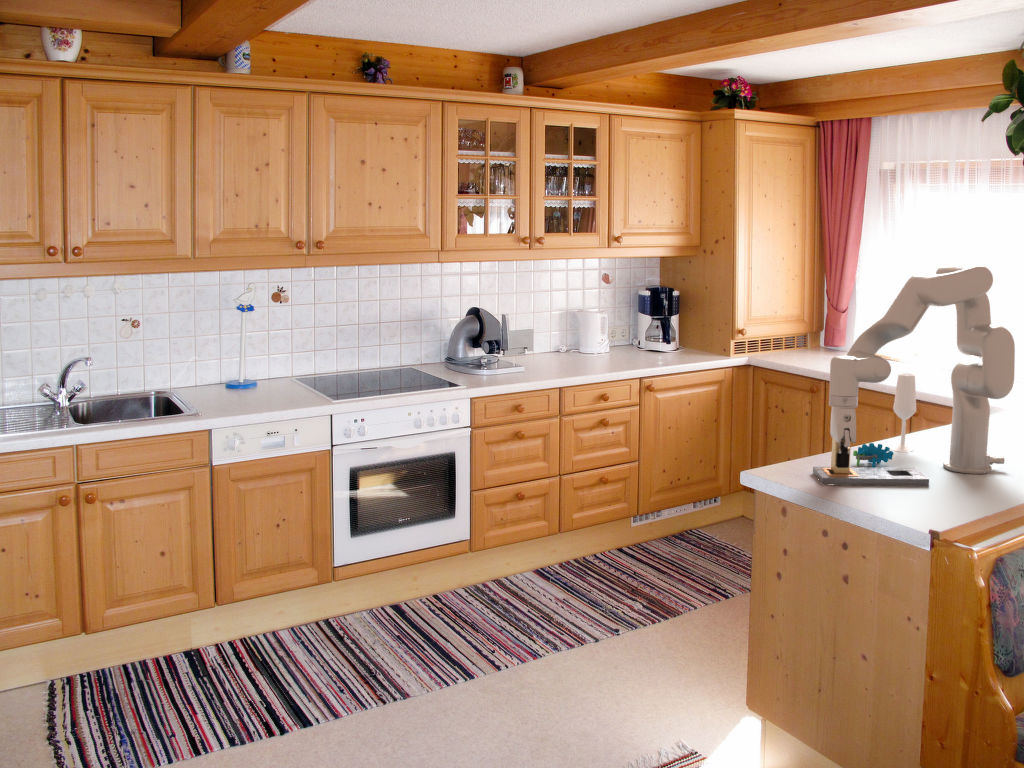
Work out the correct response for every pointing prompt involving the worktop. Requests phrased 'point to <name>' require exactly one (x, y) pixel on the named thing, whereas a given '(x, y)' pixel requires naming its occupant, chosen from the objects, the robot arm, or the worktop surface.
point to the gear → (873, 454)
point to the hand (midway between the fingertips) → (840, 464)
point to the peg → (834, 468)
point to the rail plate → (873, 476)
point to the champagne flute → (904, 405)
